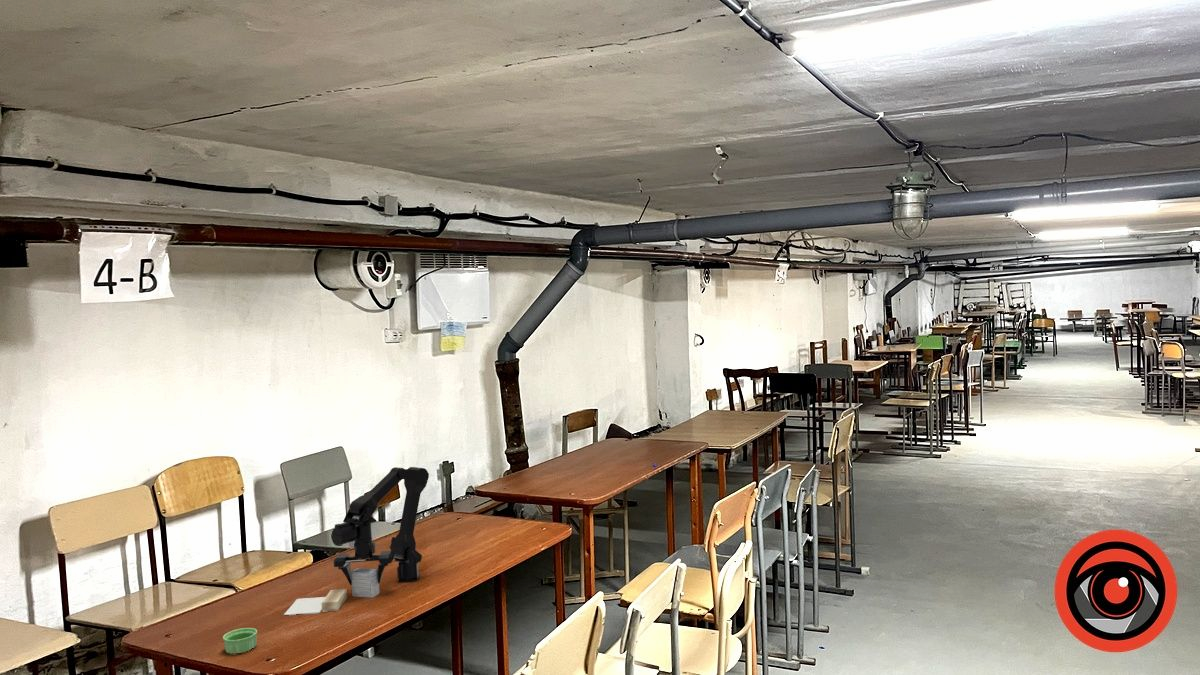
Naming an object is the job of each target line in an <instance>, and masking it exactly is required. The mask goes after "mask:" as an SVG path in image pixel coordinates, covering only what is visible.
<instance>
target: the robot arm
mask: <svg viewBox="0 0 1200 675" xmlns="http://www.w3.org/2000/svg"><path fill="white" fill-rule="evenodd" d="M429 475H430V474H429V472H428V470H427V469H426V468H424V467H416V466H409V467H408V468H404V467H397V466H395V467H393V468H391V469H390V471H389V472H388V473H387V474H386V475H385V476H384V477H382V479H381V480H380V481H379V482H378V483H376V485H374V487H373V488H371V490H370V491H368V492H367V493H365V494H363V495H361V496H358V497H357V498H355V499H354V500H353V501H351V503H350V504H349V509H348V510H347V512H346V514H345V516H344V519H343V520H342V522H343V523H342V522H341V523H336V524H334V528H333V529H332V531H331V533H330V534H331V535H330V537H331V541H332V543H333V544H334V546H337V547H339V546H343V545H346V544H350V543H352V542H353V551H354V556H351V555H350V553H339V554H337V556H336V557H335V558H334V559H333V567H334V568H337V569H338V570H341V572H342V573H343V575H344V576H345V578H346V580H347V582H348V583H349V585H350V586H352V579H351V572H352V568H351V567H352V565H351V564H352V563H361V562H379V563H378V565H377V569H378V583H379V584H380V583H381V581H382V578H383V573H384V570H385V567H387V566H388V565H389V564H391V563H392V562H393V560H394V561H395V562H396V563H397V564H398V565H397V567H396V574H397V579H398V581H397V582H398V583H402V582H403V583H404V582H417V581H418V579H419V577H420V573H419V563H420V562H422V558H423V554H421V553H420V552H419V551H417V550H416V547H417V546H416V545H417V543H416V540H415V535H414V533H415V532H414V531H415V526H416V521H417V516H418V511H419V510H418V509H419V503H420V500H421V499H420V498H421V495H422V492H423V491H424V490H425V488H426V487H427V484H428V481H429V477H430V476H429ZM402 480H403V485H404V487H405V490H406V494H405V497H404V498H405V499H404V505H403V509H402V515H401V520H400V526H399V531H398V534H397V535H396V536H391V540H390V541H391V542H390V546H389V549H390V550H381V552H380V553H379V554H375V553H376V544H377V543H376V542H374V541H373V537H372V536H373V535H372V524H374V523H377V519H376V518H374V517H373V515H374V513H375V512H376V510H377V509H378V505H379V503H380V502H381V501H382V499H384V498H385V497H386V496H387V495H388V494H389V493H390V492H391V491H392V489H394V488H395V487H396V486H397V485H398V484H399V483H400V482H401V481H402Z"/></svg>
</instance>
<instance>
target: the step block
mask: <svg viewBox="0 0 1200 675" xmlns="http://www.w3.org/2000/svg"><path fill="white" fill-rule="evenodd" d="M347 590H348V589H347V588H335V589H330V590H329V592H328V593H327V595H326V596H324V597H325V599H324V600H323V601H322V611H321V612H322V613H325V612H326V613H327V612H328V611H329V612H338V611H339V610H340V608H341V607H342V606H343V605H344V602H346V600H347V598H348V592H347Z"/></svg>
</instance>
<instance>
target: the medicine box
mask: <svg viewBox="0 0 1200 675" xmlns="http://www.w3.org/2000/svg"><path fill="white" fill-rule="evenodd" d="M351 579H352V585H351V591H352V593H351V594H352V597H359V598H369V599H372V598H375V597H377V596H378V595H379V594H380V583H378V568H374V567H373V568H372V567H356V568H355V569H353V570H351Z"/></svg>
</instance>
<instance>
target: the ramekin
mask: <svg viewBox="0 0 1200 675" xmlns="http://www.w3.org/2000/svg"><path fill="white" fill-rule="evenodd" d="M257 635H258V630H257V628H254V627H242V628H237V629H233V630H231V631H230V630H229V631H228V632H226V633H225V634H224V635H223V636H222V640H223V643H224V644H223V645H224V649H225V650H224V651H225V652H226V653H227V654H228V653H231V654H230V655H233V654H232V653H241V652H245V651H248V650H250V649H252V648H254V647H255V646H257ZM255 648H256V647H255ZM255 648H254V649H255ZM252 650H253V649H252ZM248 652H249V651H248ZM245 653H246V652H245Z"/></svg>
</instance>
